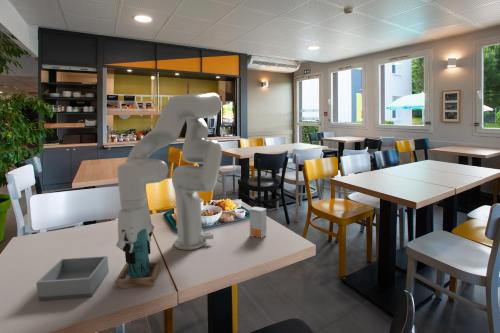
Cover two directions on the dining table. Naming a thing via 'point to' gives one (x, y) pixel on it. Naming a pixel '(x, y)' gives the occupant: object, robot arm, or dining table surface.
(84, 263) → the bin
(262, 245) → the dining table surface
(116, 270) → the dining table surface
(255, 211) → the skincare box
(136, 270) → the beverage bottle
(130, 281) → the collar
